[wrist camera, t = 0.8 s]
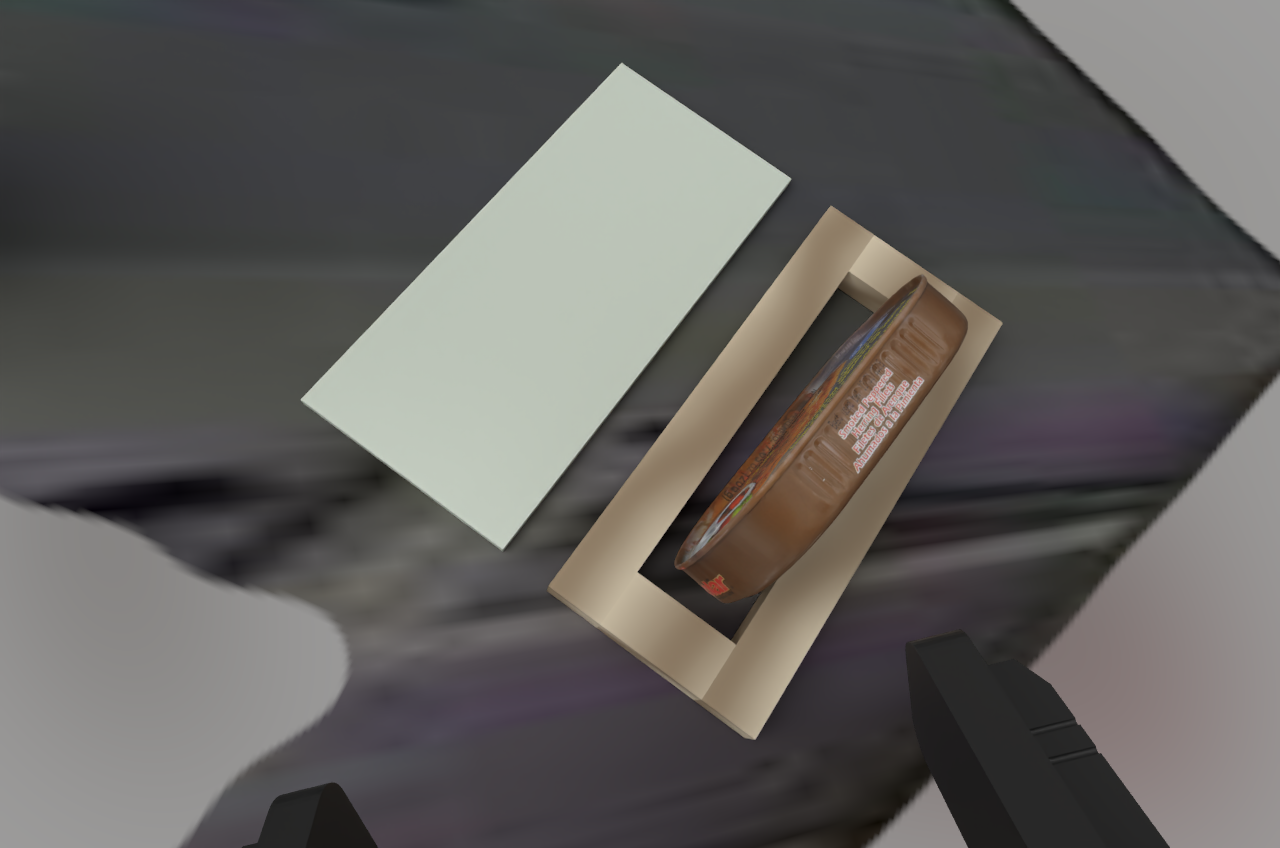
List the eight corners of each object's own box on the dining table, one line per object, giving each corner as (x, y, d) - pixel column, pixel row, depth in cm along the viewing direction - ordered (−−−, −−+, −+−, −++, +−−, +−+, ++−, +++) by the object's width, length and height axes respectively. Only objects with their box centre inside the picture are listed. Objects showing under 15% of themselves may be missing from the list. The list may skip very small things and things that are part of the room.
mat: (303, 403, 33) (300, 399, 33) (620, 70, 41) (621, 62, 40) (502, 551, 32) (502, 549, 32) (788, 184, 40) (791, 178, 39)
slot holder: (546, 591, 32) (548, 586, 31) (819, 223, 39) (830, 205, 38) (744, 737, 32) (755, 739, 30) (985, 336, 39) (1002, 322, 37)
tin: (855, 325, 38) (946, 227, 30) (910, 368, 38) (1016, 281, 30) (651, 576, 33) (695, 538, 25) (712, 628, 33) (776, 606, 25)
